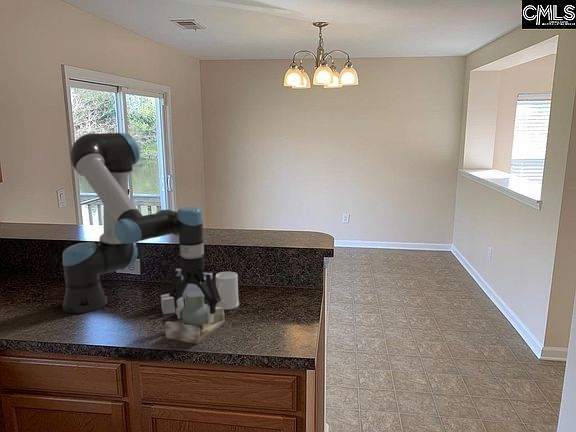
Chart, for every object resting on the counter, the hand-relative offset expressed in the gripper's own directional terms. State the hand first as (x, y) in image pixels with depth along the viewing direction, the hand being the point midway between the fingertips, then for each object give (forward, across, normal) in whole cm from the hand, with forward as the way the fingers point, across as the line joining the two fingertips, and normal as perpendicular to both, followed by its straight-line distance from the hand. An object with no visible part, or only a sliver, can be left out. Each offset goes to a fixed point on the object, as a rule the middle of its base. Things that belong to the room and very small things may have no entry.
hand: (195, 319), depth 143 cm
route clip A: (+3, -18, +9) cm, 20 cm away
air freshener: (+1, 0, 0) cm, 1 cm away
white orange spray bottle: (+4, -17, +24) cm, 30 cm away
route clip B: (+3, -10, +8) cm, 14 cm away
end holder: (+3, 0, 0) cm, 3 cm away
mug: (+4, 0, +20) cm, 20 cm away
